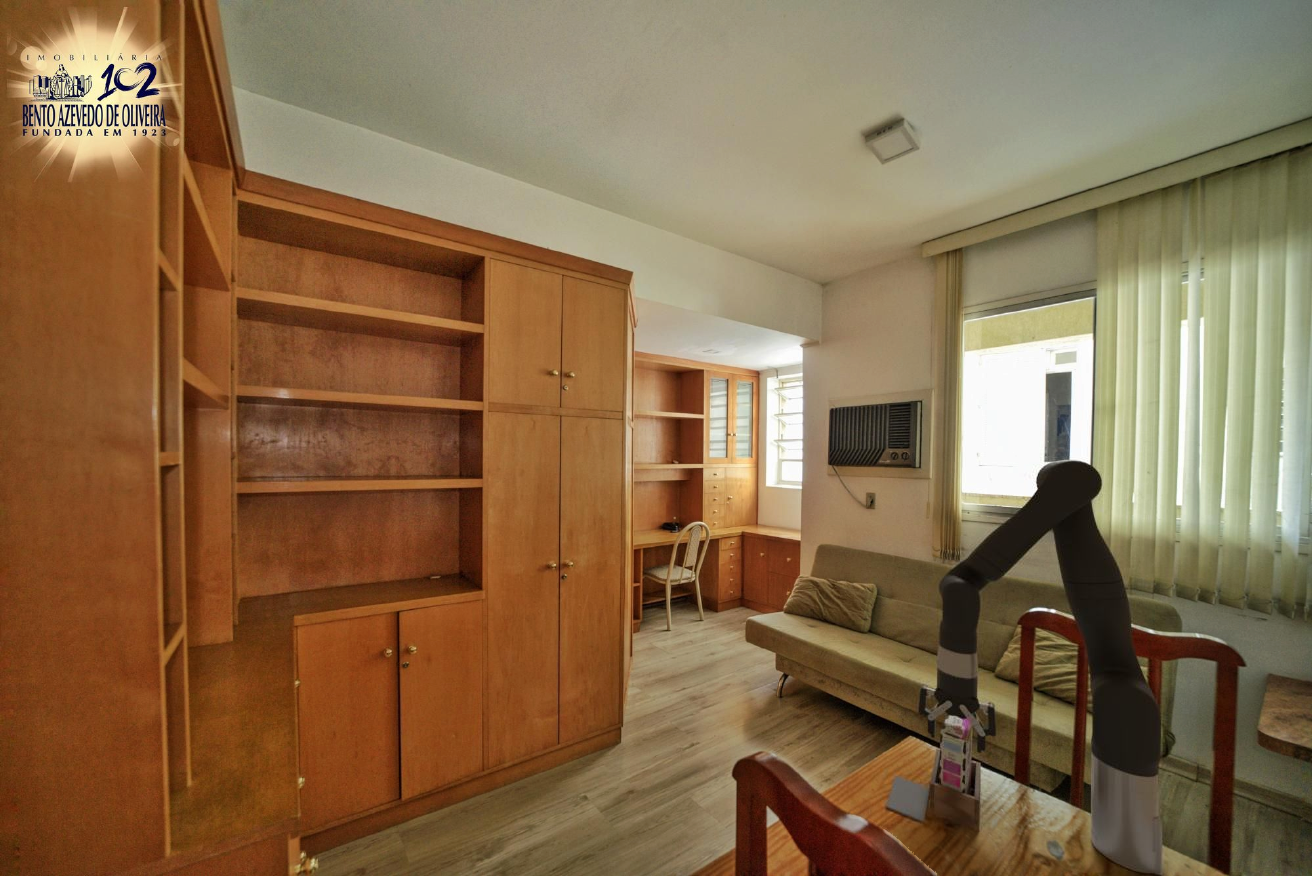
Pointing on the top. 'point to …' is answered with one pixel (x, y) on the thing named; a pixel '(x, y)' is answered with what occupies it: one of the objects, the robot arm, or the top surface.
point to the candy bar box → (956, 754)
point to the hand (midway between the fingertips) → (955, 743)
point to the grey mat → (908, 798)
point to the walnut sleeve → (956, 798)
